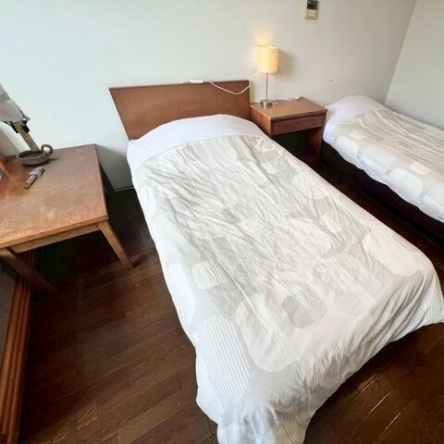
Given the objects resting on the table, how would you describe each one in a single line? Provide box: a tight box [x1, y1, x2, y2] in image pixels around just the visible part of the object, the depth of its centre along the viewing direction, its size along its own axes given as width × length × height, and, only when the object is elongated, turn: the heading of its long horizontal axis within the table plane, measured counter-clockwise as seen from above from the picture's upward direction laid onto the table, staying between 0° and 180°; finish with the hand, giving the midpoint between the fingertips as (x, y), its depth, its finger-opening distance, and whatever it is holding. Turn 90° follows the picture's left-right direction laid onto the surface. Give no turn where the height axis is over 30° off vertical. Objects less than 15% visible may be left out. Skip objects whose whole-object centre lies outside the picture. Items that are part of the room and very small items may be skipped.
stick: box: [12, 121, 40, 151], centre depth 139 cm, size 4×4×16 cm
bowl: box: [16, 143, 54, 166], centre depth 146 cm, size 14×18×10 cm
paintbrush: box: [22, 165, 45, 190], centre depth 137 cm, size 4×3×20 cm
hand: (23, 132), depth 137 cm, fingers closed on stick, 3 cm apart
